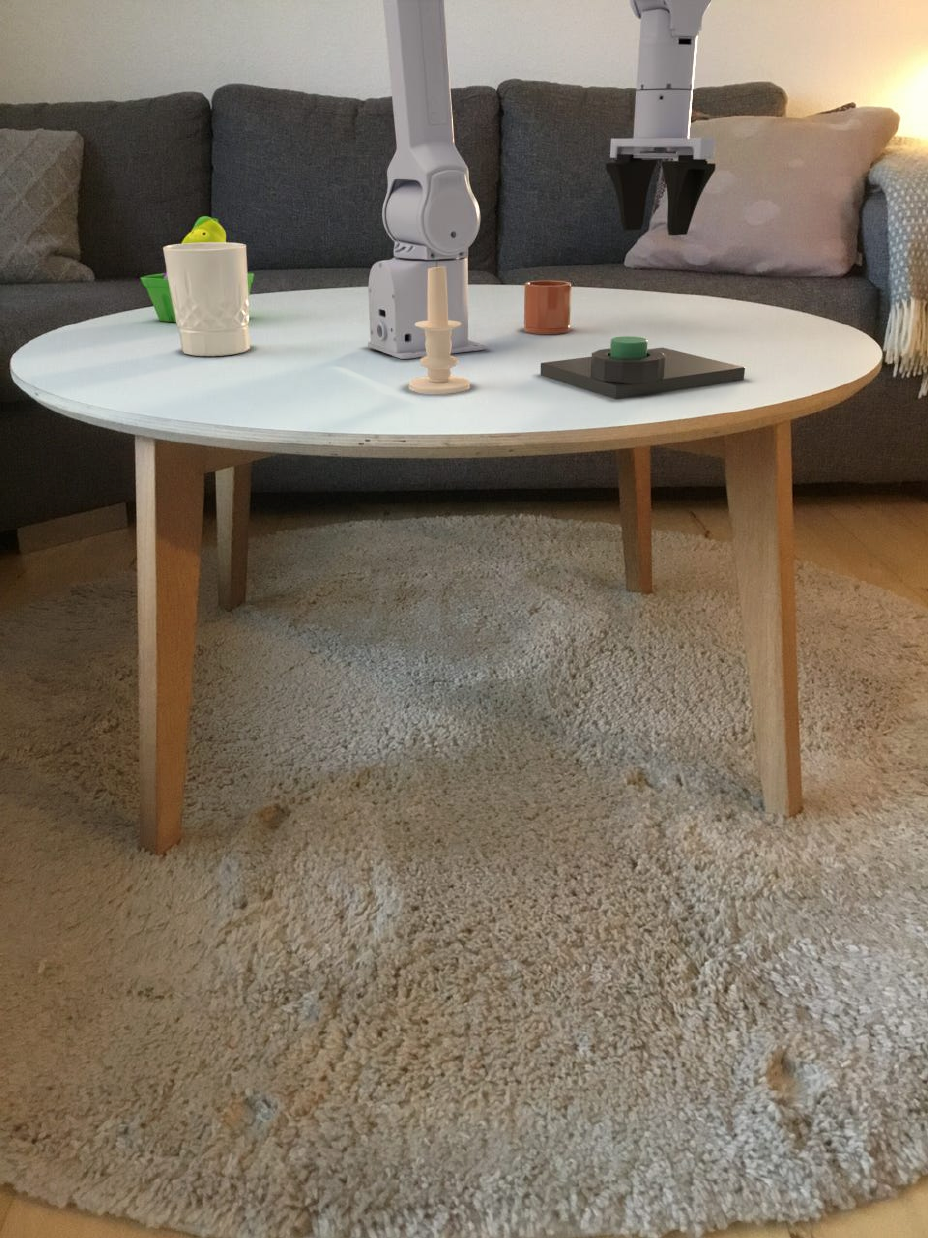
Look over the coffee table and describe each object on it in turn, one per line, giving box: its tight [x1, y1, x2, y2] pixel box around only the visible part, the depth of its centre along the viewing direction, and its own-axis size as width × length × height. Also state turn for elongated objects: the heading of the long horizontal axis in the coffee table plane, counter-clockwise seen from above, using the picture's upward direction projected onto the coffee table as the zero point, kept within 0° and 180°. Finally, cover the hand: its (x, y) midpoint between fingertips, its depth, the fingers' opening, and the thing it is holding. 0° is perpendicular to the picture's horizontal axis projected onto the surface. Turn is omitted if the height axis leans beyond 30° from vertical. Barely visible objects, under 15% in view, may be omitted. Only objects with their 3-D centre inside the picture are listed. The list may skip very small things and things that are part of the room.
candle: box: [408, 260, 471, 395], centre depth 84 cm, size 5×5×10 cm
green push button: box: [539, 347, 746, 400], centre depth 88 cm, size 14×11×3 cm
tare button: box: [609, 335, 648, 359], centre depth 83 cm, size 3×3×2 cm
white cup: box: [162, 241, 251, 357], centre depth 100 cm, size 8×8×10 cm
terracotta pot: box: [523, 280, 572, 335], centre depth 111 cm, size 5×5×5 cm
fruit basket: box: [140, 215, 255, 323], centre depth 118 cm, size 11×9×11 cm
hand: (654, 232), depth 109 cm, fingers open, 7 cm apart
